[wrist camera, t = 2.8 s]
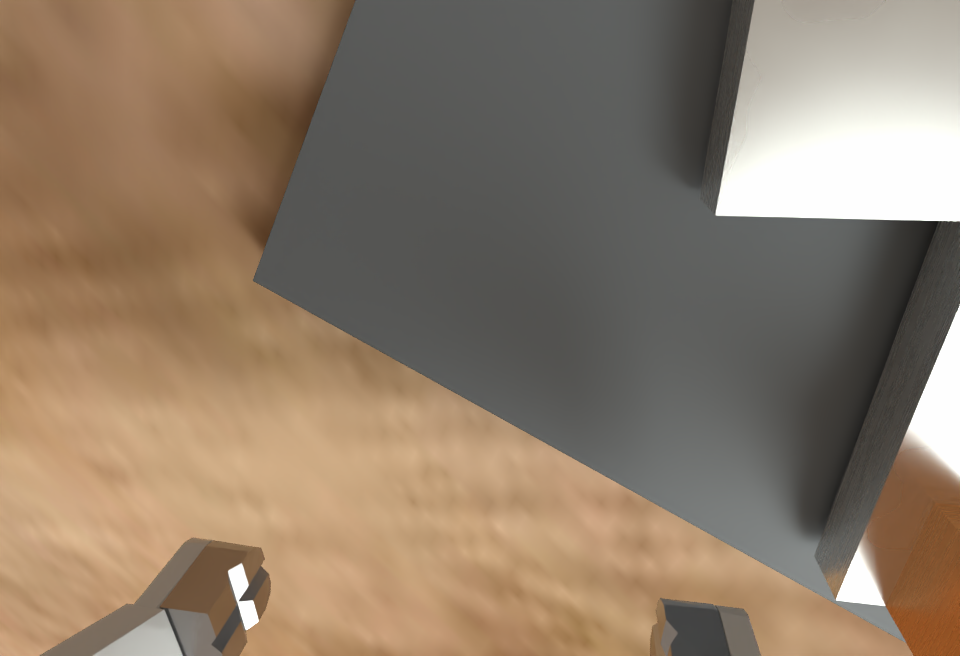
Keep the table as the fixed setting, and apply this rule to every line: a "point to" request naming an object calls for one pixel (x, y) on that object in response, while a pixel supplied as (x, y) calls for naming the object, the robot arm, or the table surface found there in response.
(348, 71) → the base board
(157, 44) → the table surface
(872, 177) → the flange plate
